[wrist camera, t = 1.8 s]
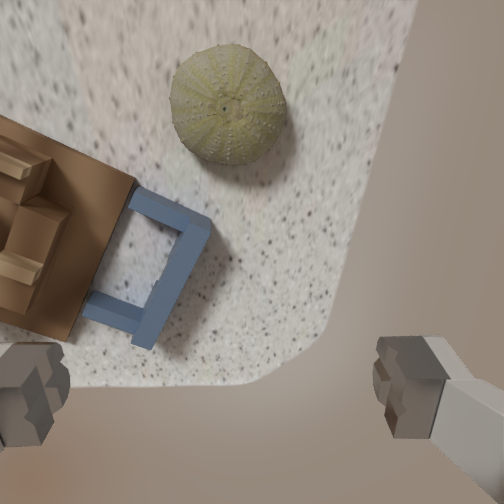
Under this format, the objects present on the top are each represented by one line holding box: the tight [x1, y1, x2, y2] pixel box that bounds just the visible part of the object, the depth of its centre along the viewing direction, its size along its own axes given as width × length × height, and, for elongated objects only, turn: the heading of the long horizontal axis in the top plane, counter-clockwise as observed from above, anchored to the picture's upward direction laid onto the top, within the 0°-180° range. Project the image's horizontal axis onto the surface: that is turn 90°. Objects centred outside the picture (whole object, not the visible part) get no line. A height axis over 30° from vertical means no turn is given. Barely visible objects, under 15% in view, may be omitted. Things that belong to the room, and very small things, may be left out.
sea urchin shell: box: [169, 44, 286, 165], centre depth 31 cm, size 9×8×8 cm
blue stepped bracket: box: [82, 186, 211, 350], centre depth 35 cm, size 7×13×4 cm, turn 152°
